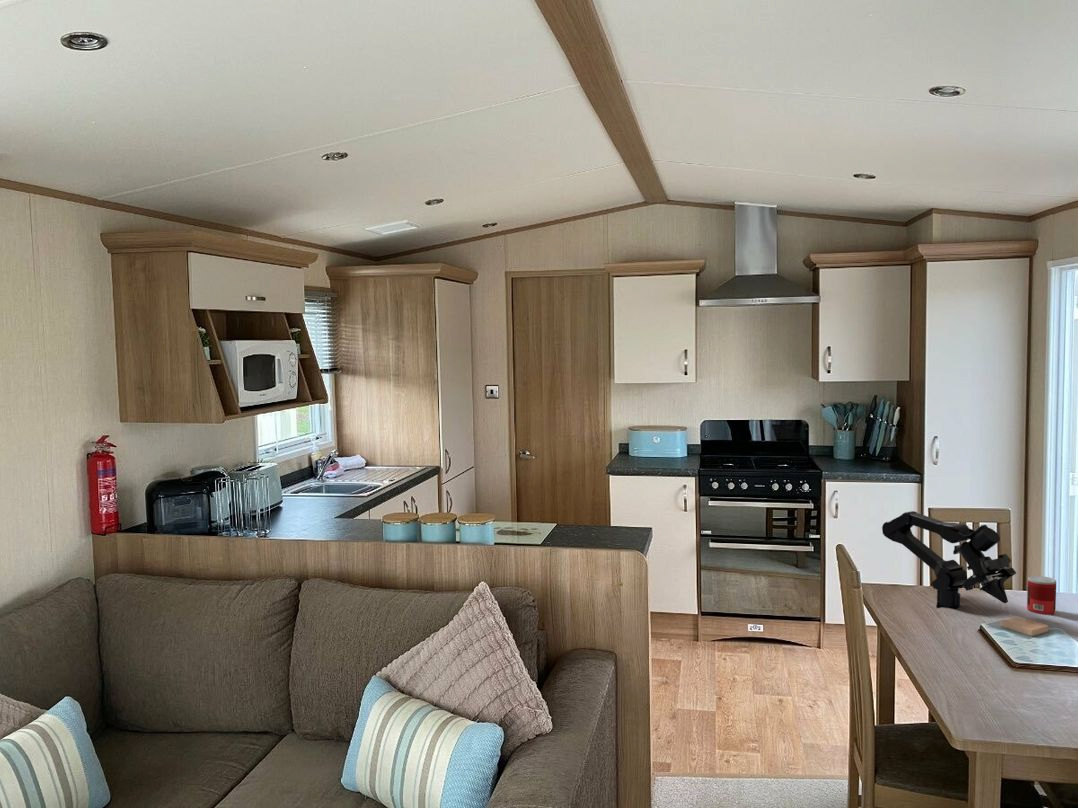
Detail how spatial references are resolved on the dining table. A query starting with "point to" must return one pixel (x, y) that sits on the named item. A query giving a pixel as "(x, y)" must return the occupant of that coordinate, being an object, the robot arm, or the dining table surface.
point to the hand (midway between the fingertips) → (1006, 602)
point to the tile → (1024, 626)
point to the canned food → (1041, 595)
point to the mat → (997, 625)
